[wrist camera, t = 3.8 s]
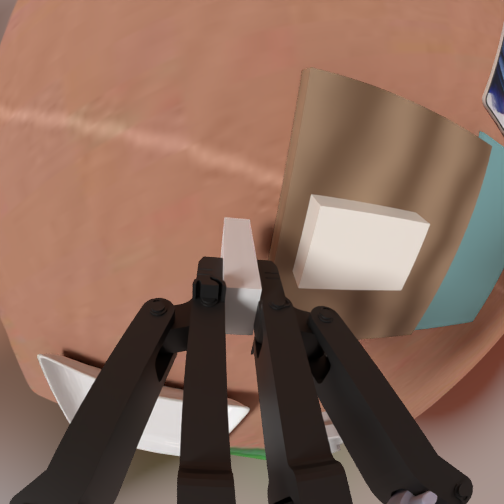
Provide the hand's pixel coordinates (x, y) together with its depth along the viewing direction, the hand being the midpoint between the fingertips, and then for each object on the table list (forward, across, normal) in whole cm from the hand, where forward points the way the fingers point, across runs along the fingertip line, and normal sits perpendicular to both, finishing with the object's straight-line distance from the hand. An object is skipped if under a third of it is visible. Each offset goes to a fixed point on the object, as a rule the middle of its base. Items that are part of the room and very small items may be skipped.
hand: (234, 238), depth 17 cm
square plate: (+4, -12, -33) cm, 35 cm away
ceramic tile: (+1, +9, 0) cm, 9 cm away
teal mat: (+3, +29, 0) cm, 29 cm away
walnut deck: (+3, +12, 0) cm, 13 cm away
